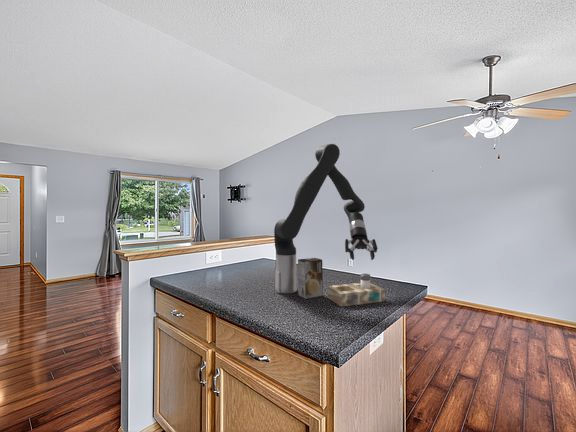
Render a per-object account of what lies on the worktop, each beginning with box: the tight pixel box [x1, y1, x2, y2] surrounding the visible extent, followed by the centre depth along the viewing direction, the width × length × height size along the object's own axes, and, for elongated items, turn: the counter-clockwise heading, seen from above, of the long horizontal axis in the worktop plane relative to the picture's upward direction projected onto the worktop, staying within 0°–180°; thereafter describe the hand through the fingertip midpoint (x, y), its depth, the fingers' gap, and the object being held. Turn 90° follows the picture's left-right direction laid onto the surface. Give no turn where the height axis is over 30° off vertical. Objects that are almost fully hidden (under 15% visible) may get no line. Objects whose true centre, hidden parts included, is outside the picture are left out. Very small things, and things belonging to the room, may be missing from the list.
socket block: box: [327, 282, 386, 307], centre depth 120 cm, size 20×12×5 cm, turn 107°
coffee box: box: [297, 257, 324, 299], centre depth 126 cm, size 9×6×16 cm
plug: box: [360, 273, 371, 289], centre depth 122 cm, size 4×4×10 cm
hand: (362, 258), depth 128 cm, fingers open, 8 cm apart
